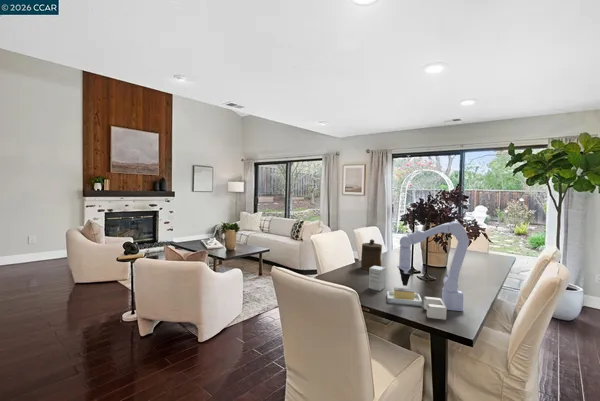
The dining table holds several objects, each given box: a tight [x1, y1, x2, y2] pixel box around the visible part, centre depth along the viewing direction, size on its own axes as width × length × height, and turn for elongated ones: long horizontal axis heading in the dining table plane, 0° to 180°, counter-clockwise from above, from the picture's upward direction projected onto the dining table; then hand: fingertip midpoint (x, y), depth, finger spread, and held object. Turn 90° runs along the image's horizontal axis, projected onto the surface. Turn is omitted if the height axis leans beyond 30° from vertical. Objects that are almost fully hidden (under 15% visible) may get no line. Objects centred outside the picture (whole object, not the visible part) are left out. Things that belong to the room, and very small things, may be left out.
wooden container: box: [360, 238, 383, 271], centre depth 227 cm, size 15×15×22 cm
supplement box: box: [368, 266, 386, 292], centre depth 182 cm, size 7×7×13 cm
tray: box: [386, 290, 423, 307], centre depth 163 cm, size 17×12×2 cm
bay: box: [422, 296, 448, 321], centre depth 147 cm, size 8×13×6 cm, turn 166°
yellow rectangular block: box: [393, 287, 415, 300], centre depth 163 cm, size 10×5×5 cm, turn 76°
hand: (404, 283), depth 163 cm, fingers open, 7 cm apart
